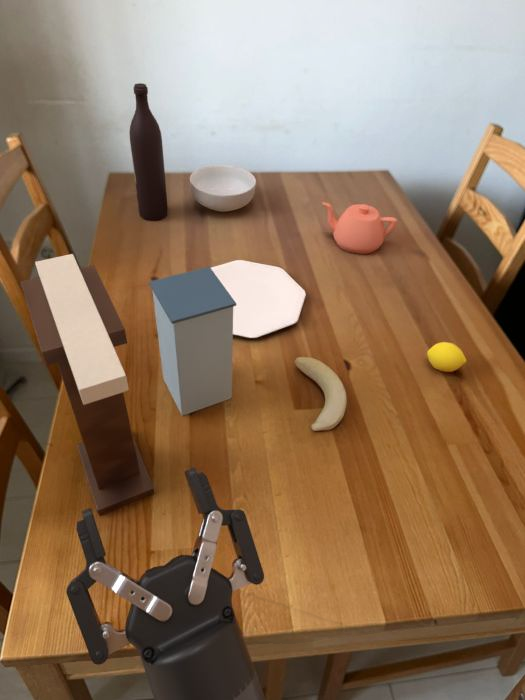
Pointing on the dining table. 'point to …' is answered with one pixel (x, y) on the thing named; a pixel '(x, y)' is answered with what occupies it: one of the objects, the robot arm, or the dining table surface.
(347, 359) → the dining table surface
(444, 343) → the lemon
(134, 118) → the wine bottle
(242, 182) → the cereal bowl
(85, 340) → the slat
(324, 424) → the fruit
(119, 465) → the stand
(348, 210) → the teapot
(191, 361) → the container
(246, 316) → the plate
